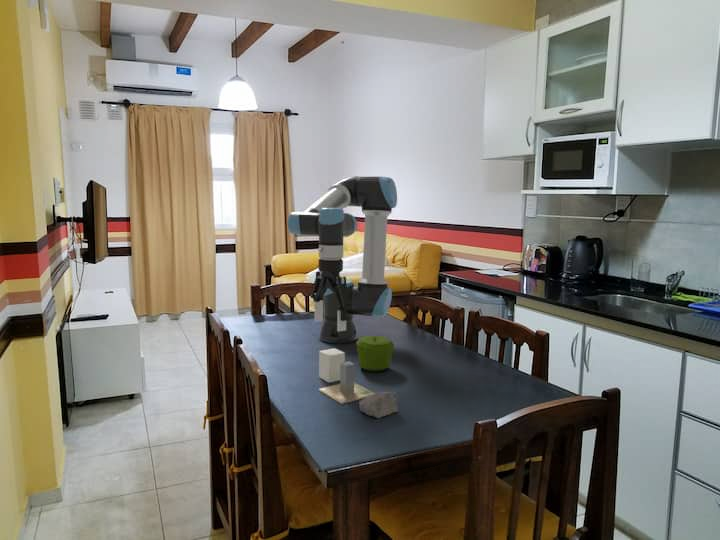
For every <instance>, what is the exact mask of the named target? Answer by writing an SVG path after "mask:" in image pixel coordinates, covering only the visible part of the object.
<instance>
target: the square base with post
mask: <svg viewBox="0 0 720 540" xmlns="http://www.w3.org/2000/svg"><path fill="white" fill-rule="evenodd" d="M355 371H356V366H355V363H353V362H351V361H345V362H343V363H340V380H339V383H338V384H334V385H329V386H325V387H321V388H318V391H319V392H320V393H322V394H324V395H326V396H327V397H328V398H331V399H332V400H334V401H335V402H337V403H339V404H340V405H342V404H343V405H344V404H347V403H351V402H355V401H360V400H363V399H365V398H366V397H368V396H371V395H373V394H375V393H376V392H373V391H372V390H370V389H368V388H366V387H364V386H362V385H361V384H358V383H356V382H355Z"/></svg>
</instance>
